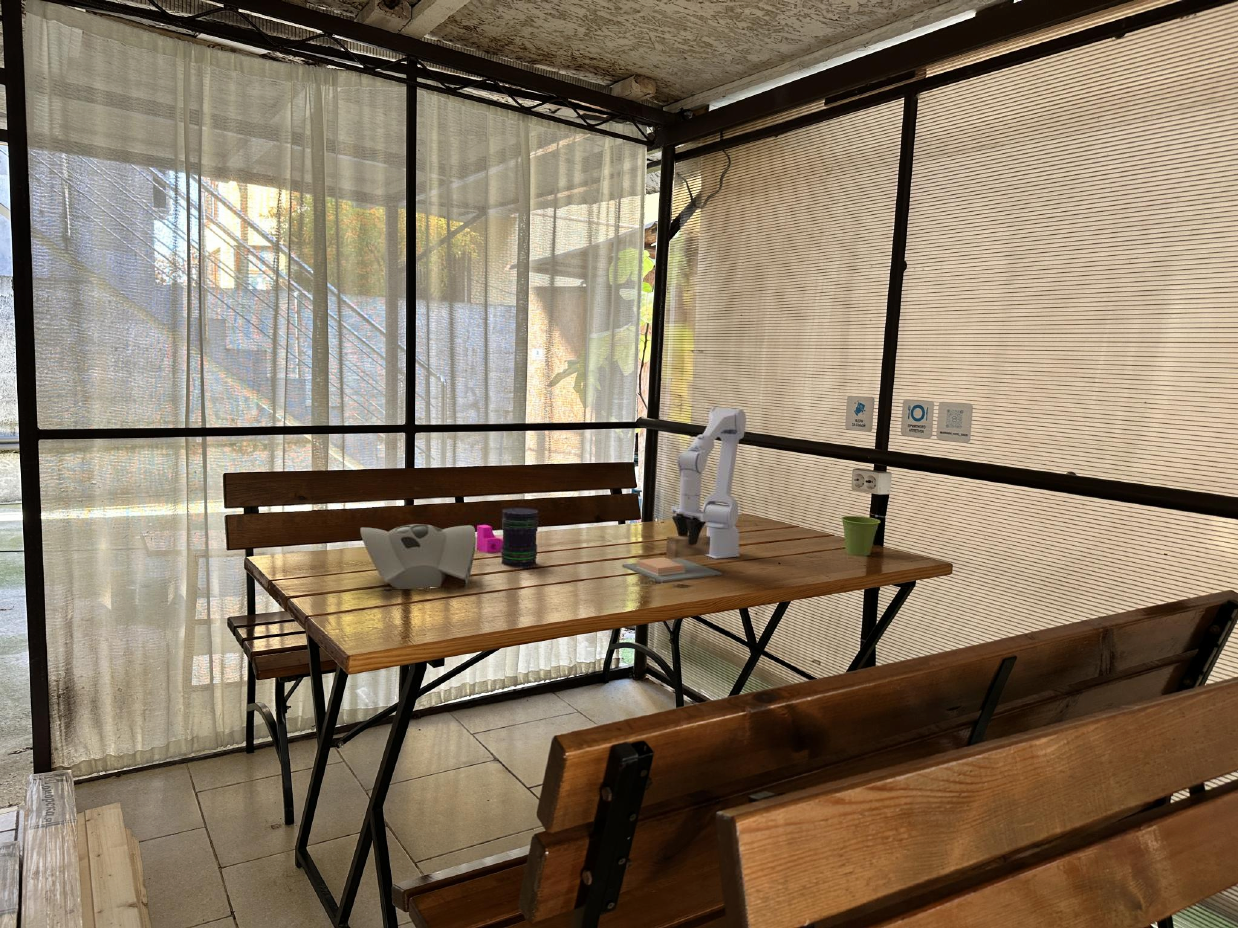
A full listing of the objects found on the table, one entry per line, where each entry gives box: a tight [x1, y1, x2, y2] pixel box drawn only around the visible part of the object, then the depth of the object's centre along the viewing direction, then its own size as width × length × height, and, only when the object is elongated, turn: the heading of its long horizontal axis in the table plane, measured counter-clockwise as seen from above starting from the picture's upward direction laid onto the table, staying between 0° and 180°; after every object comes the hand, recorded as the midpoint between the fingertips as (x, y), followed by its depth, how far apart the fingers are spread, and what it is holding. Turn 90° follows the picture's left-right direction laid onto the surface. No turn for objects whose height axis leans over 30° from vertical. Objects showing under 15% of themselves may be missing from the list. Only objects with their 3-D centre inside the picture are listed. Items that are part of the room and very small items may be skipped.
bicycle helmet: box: [359, 523, 477, 590], centre depth 213 cm, size 28×25×16 cm
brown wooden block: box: [665, 533, 710, 559], centre depth 239 cm, size 12×4×5 cm, turn 123°
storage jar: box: [500, 507, 539, 569], centre depth 236 cm, size 10×10×15 cm
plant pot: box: [840, 515, 881, 557], centre depth 267 cm, size 12×12×11 cm
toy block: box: [476, 524, 503, 554], centre depth 254 cm, size 15×6×8 cm, turn 127°
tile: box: [636, 556, 685, 576], centre depth 234 cm, size 2×10×9 cm
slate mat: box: [622, 557, 723, 583], centre depth 236 cm, size 20×19×1 cm
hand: (687, 542), depth 238 cm, fingers closed on brown wooden block, 4 cm apart
